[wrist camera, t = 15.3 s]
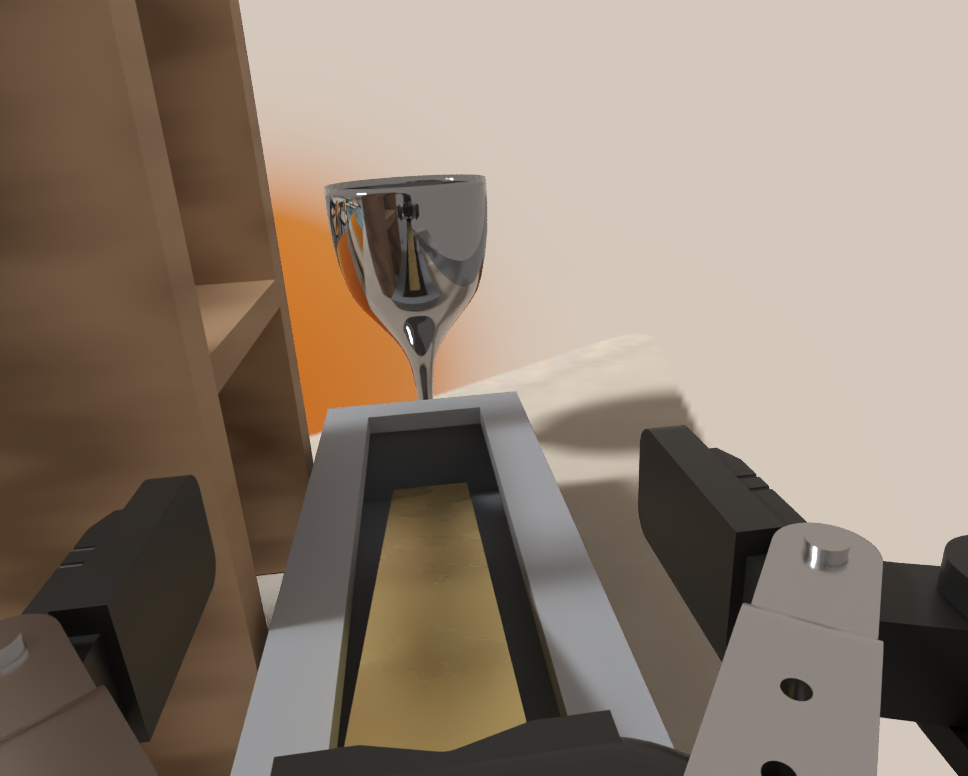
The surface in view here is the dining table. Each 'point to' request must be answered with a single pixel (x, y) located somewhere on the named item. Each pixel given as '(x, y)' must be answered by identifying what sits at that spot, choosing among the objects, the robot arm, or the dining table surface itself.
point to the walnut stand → (145, 321)
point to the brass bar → (433, 633)
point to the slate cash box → (510, 558)
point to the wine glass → (411, 256)
